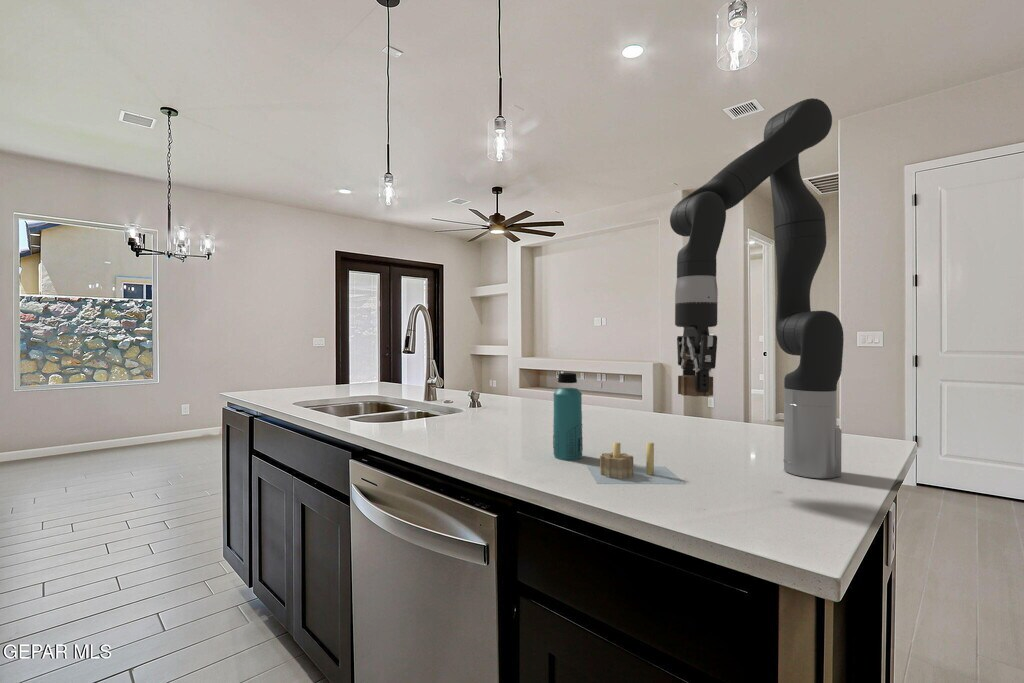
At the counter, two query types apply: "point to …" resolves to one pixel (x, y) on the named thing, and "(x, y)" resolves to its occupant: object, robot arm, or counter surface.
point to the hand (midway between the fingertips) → (695, 390)
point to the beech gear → (616, 466)
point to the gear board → (639, 471)
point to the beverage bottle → (567, 420)
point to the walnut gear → (692, 386)
